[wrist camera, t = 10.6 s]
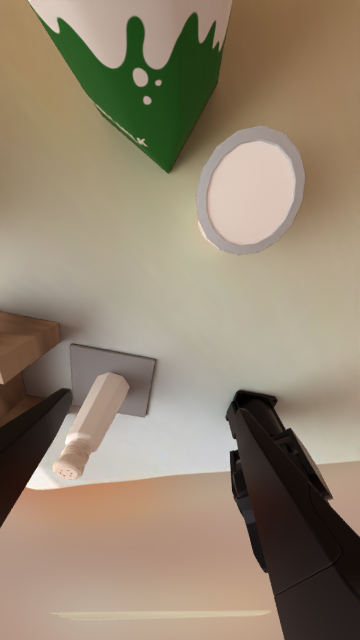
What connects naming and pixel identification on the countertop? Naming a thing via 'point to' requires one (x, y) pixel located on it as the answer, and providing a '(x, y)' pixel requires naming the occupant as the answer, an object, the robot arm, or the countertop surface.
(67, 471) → the pepper shaker
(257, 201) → the white cup
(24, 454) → the robot arm
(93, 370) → the grey mat
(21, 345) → the wooden u-shaped block
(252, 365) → the countertop surface
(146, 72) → the milk carton
